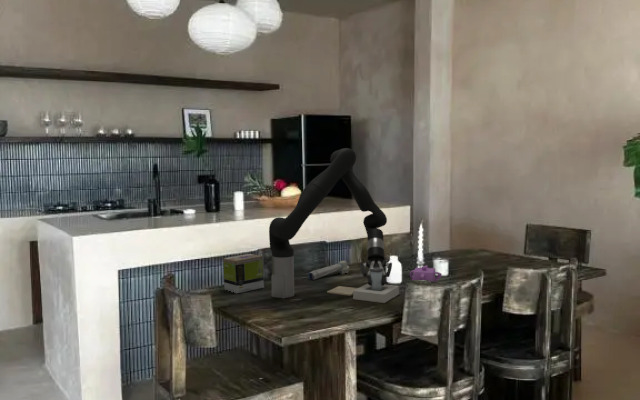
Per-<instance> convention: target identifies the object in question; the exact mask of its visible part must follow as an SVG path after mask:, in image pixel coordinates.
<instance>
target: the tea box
mask: <svg viewBox="0 0 640 400" xmlns="http://www.w3.org/2000/svg"><path fill="white" fill-rule="evenodd" d="M222 261H223V262H222V263H223V265H222V266H223V283H224V285H223V286H224V291H226V290H228V291H227V292H229V291H231V292H230V293H233V292H234V293H233V294H239V293H240V294H241V293H246V292H249V291H254V290H258V289H264V288H265V281H264V279H265V278H264V257H263V255H258V254H252V253H247V254H240V255H233V256H228V257H224V258H223V260H222Z"/></svg>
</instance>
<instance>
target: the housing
mask: <svg viewBox="0 0 640 400" xmlns="http://www.w3.org/2000/svg"><path fill="white" fill-rule="evenodd" d="M357 288H358V289H356V290H354V291H353V295H352V296H353V297H352V299H353V300H356V301H357V300H359V301H365V302H371V303H372V302H373V303H374V302H375V303H381V304H385V303H388V302H389V301H390V300H392V299H395V297H397V296H398V295H400V286H399V285H394V284H393V285H391V284H384V286H382V291H373V290H371V286H369V284H368V283H366V284H363V285H362V286H359V287H357Z"/></svg>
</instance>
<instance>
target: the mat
mask: <svg viewBox="0 0 640 400" xmlns="http://www.w3.org/2000/svg"><path fill="white" fill-rule="evenodd" d="M358 288H359V287H349V286H343V285H342V286H341V285H338V286H336V287H334V288H331V289H329V290H327V291H326V292H327V294H332V295H333V294H334V295H342V296H349V297H350V296H353V291H354V290H356V289H358Z"/></svg>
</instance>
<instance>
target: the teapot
mask: <svg viewBox="0 0 640 400" xmlns="http://www.w3.org/2000/svg"><path fill="white" fill-rule="evenodd" d="M436 275H437V276H436ZM442 275H443V274H442V273H441V272H439V271H436V268H433V267H428V264H426V265H424V266H423V265H422V266H421V267H415V269H413V270H411V271H410V272H409V277H410V278H411V281H413V280H428V281H435V282H437V281H439V280H440V279H441V277H442Z"/></svg>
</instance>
